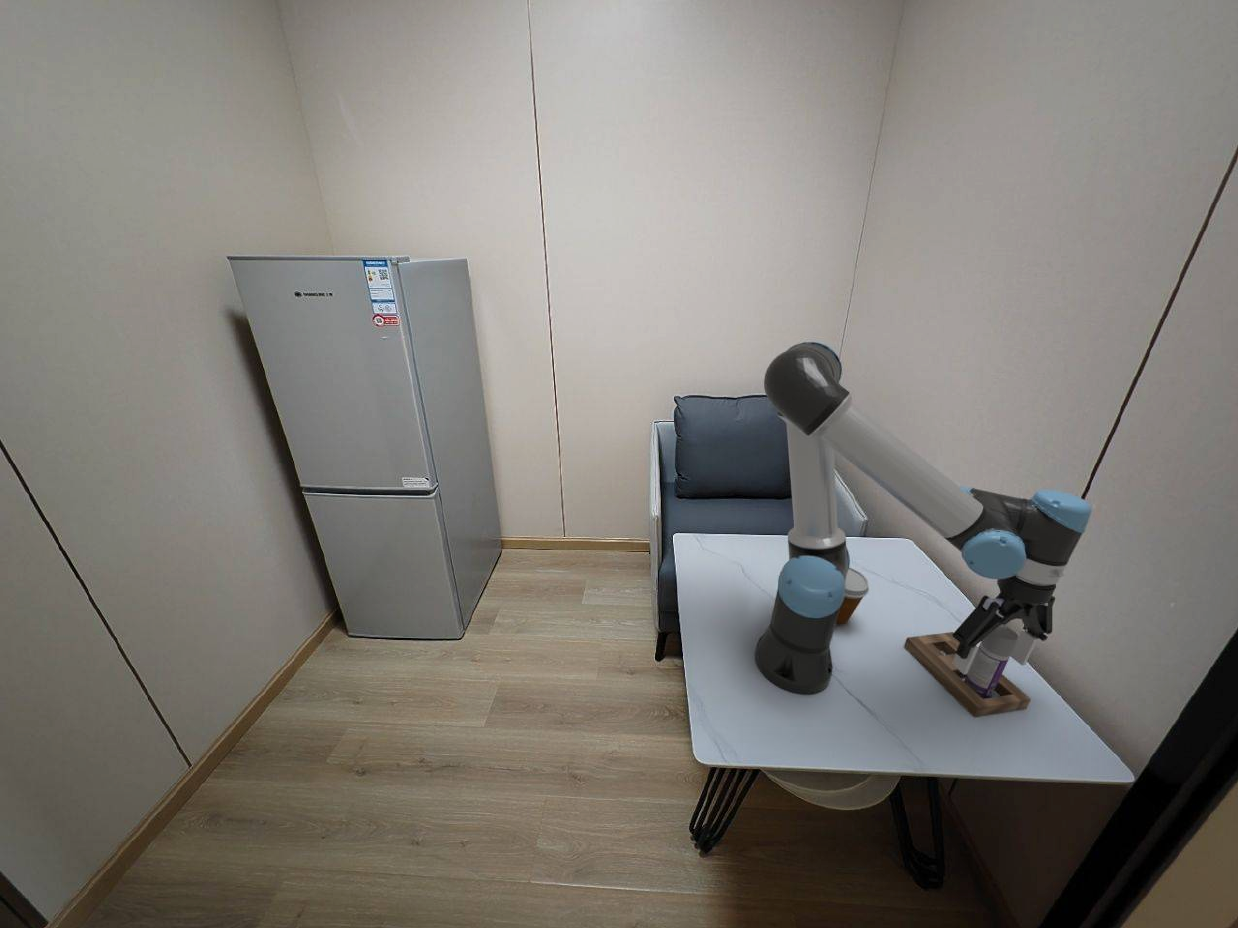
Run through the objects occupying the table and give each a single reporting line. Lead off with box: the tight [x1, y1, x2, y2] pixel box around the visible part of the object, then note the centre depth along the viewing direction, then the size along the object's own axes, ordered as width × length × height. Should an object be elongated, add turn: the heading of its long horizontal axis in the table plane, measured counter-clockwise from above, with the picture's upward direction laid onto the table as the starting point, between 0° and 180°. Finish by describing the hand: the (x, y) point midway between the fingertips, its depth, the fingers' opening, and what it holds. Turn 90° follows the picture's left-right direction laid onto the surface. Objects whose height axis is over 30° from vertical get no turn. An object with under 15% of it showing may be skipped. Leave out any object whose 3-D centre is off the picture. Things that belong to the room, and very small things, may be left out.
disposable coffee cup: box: [835, 566, 870, 626], centre depth 110 cm, size 10×10×12 cm
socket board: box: [903, 631, 1032, 718], centre depth 97 cm, size 12×18×2 cm, turn 11°
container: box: [963, 624, 1018, 699], centre depth 91 cm, size 5×5×15 cm
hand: (988, 664), depth 91 cm, fingers open, 13 cm apart
